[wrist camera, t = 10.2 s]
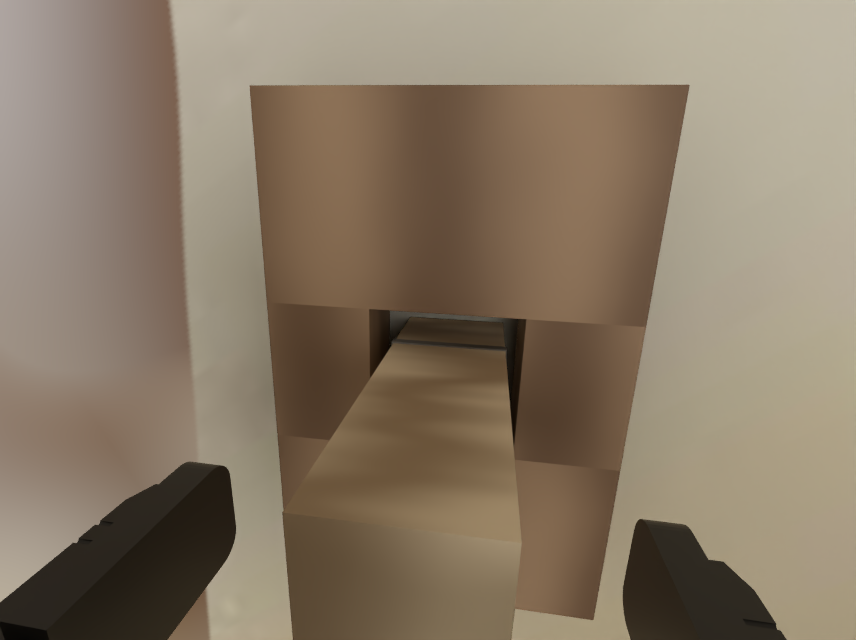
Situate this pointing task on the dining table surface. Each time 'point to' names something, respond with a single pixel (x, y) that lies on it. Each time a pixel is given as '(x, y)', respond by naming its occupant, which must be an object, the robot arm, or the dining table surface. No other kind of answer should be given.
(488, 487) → the beech peg
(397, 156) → the walnut board
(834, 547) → the dining table surface
